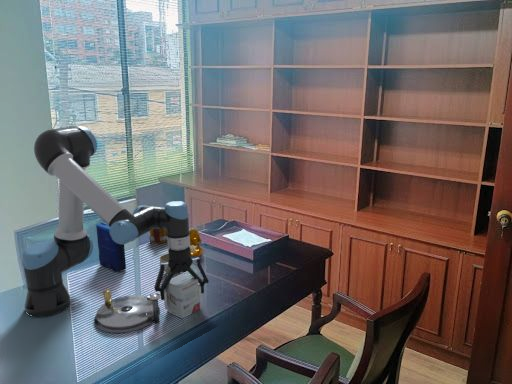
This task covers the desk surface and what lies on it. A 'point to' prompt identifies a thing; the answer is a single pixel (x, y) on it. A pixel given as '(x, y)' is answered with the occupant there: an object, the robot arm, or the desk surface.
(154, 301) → the turntable base
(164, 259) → the flower pot
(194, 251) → the figurine
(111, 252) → the book
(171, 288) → the ink box
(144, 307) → the turntable
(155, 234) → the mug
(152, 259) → the desk surface
